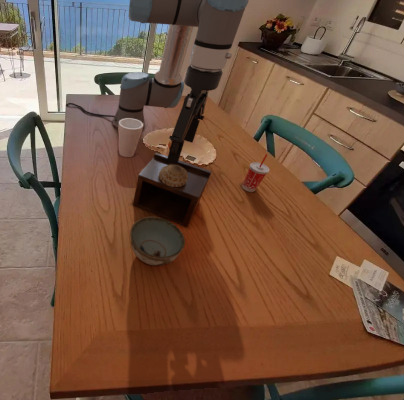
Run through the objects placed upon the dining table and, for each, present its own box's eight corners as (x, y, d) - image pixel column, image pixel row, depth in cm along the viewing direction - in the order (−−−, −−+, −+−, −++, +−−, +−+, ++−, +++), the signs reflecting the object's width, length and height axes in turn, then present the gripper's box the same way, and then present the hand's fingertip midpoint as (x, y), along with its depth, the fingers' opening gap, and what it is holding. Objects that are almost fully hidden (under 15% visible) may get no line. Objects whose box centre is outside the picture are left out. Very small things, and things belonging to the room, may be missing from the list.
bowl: (165, 286, 65) (173, 267, 60) (117, 261, 70) (120, 241, 65) (183, 249, 74) (192, 230, 69) (139, 229, 79) (144, 209, 73)
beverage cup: (259, 188, 97) (279, 154, 88) (254, 195, 94) (273, 161, 84) (243, 180, 100) (260, 147, 91) (236, 187, 97) (254, 154, 87)
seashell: (190, 165, 80) (191, 170, 72) (184, 183, 82) (185, 190, 74) (162, 159, 81) (161, 163, 74) (157, 177, 83) (156, 183, 76)
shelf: (132, 204, 87) (139, 171, 78) (148, 184, 95) (155, 152, 87) (186, 227, 80) (200, 194, 71) (198, 203, 89) (211, 171, 80)
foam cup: (112, 155, 109) (115, 125, 100) (119, 145, 115) (122, 116, 106) (134, 161, 106) (139, 131, 98) (140, 150, 113) (145, 121, 104)
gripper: (208, 86, 49) (179, 178, 63) (234, 58, 65) (205, 136, 80) (170, 77, 52) (149, 167, 66) (203, 53, 68) (181, 129, 82)
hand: (180, 151), depth 73 cm, fingers open, 13 cm apart
